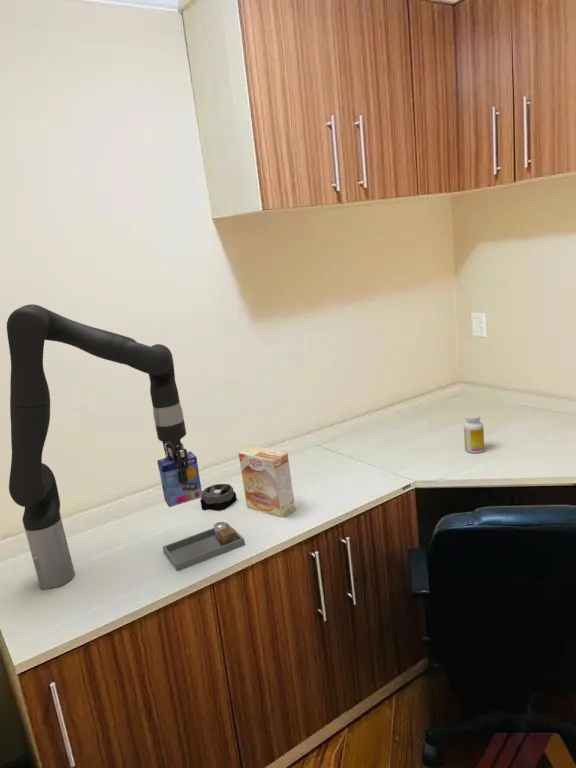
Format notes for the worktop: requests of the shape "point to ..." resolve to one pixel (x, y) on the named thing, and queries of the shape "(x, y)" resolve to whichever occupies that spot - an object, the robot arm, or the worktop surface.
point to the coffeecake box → (267, 481)
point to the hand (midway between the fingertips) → (180, 479)
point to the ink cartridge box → (170, 481)
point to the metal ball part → (219, 528)
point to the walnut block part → (226, 536)
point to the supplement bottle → (473, 434)
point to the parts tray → (198, 548)
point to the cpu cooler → (218, 497)
